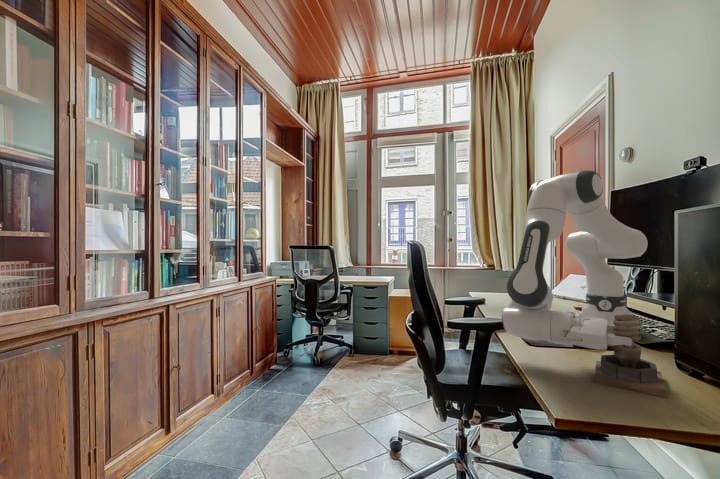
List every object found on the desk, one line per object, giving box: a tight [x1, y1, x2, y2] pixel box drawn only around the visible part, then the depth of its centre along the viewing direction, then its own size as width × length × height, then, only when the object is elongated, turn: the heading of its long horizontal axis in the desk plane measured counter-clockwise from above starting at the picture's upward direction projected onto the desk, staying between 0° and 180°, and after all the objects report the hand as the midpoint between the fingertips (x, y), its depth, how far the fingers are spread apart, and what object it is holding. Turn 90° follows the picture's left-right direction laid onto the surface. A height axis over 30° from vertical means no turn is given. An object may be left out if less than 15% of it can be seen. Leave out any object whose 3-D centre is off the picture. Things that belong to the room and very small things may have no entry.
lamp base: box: [594, 353, 669, 399], centre depth 79 cm, size 13×13×4 cm
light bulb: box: [613, 314, 643, 368], centre depth 79 cm, size 6×6×15 cm
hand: (631, 336), depth 79 cm, fingers open, 8 cm apart
